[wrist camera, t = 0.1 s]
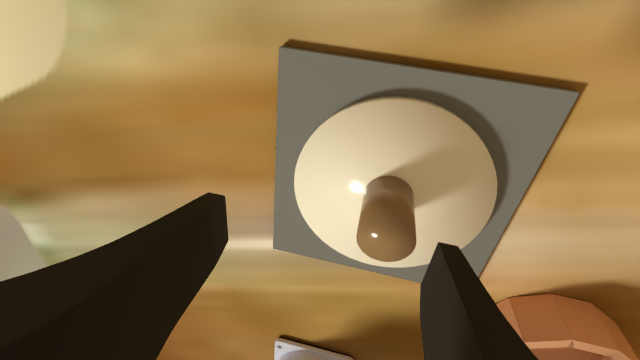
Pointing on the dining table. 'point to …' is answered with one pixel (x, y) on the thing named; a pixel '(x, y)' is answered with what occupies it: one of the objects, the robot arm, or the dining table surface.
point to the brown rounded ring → (565, 328)
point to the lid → (395, 181)
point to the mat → (426, 84)
